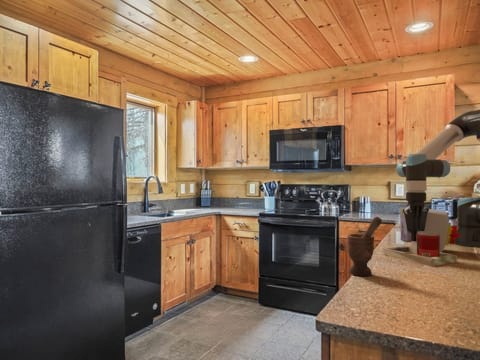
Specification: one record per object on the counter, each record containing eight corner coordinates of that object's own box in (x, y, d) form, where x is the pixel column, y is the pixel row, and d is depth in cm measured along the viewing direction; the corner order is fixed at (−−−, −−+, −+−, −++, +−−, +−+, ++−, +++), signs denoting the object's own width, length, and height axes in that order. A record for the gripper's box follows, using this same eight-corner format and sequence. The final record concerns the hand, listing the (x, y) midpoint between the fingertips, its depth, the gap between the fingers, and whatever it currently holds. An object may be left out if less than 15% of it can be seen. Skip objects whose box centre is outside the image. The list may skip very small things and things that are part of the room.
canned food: (443, 262, 135) (444, 233, 135) (423, 262, 134) (423, 234, 134) (432, 257, 142) (432, 231, 142) (413, 258, 142) (413, 231, 142)
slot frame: (407, 251, 155) (407, 245, 155) (456, 261, 136) (456, 254, 136) (383, 254, 149) (383, 248, 149) (431, 266, 129) (431, 258, 129)
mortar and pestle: (386, 274, 118) (386, 215, 118) (380, 280, 111) (380, 217, 111) (351, 269, 125) (351, 213, 125) (344, 275, 117) (344, 215, 117)
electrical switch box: (454, 261, 145) (463, 214, 144) (415, 252, 153) (422, 207, 151) (455, 255, 158) (462, 211, 156) (418, 247, 165) (425, 205, 164)
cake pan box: (420, 237, 194) (420, 205, 194) (429, 238, 190) (429, 206, 190) (399, 240, 184) (399, 207, 184) (408, 242, 180) (408, 207, 180)
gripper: (418, 191, 149) (418, 246, 149) (397, 191, 144) (396, 248, 144) (435, 191, 143) (434, 249, 143) (413, 192, 137) (412, 252, 137)
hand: (415, 249), depth 143 cm, fingers closed
